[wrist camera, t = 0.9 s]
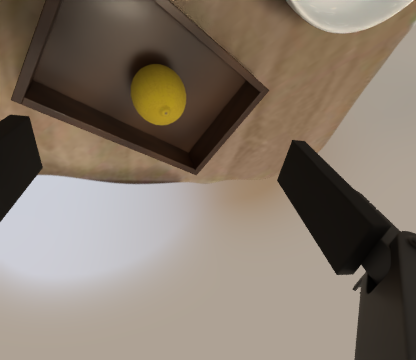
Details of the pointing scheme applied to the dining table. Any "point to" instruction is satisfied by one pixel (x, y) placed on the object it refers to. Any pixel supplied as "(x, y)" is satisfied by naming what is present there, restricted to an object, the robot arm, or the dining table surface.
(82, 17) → the tray
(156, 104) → the lemon
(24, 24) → the dining table surface
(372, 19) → the serving bowl
